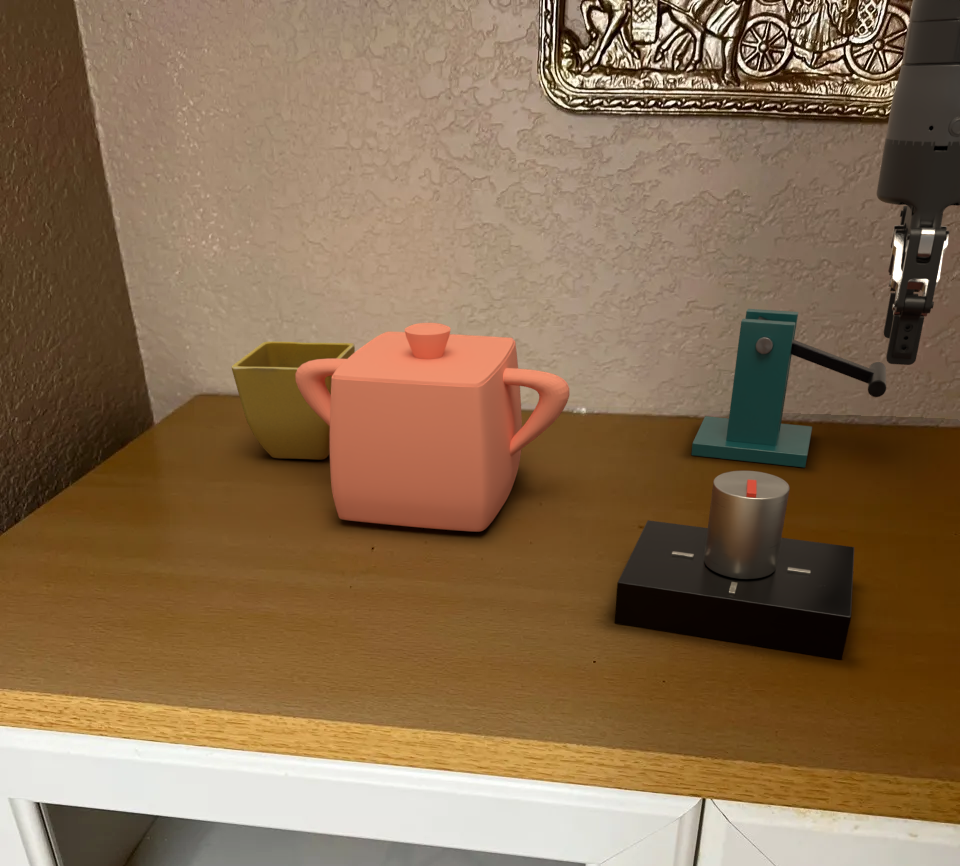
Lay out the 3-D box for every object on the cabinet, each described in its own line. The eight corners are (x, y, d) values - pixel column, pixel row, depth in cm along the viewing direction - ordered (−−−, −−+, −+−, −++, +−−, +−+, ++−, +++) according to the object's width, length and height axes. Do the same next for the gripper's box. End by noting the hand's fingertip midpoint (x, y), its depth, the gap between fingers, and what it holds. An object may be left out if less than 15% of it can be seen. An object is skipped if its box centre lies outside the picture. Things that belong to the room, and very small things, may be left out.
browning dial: (705, 544, 66) (715, 463, 63) (775, 551, 65) (789, 469, 62) (702, 575, 62) (712, 490, 59) (776, 583, 61) (791, 496, 58)
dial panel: (846, 586, 67) (854, 544, 66) (841, 659, 59) (851, 614, 58) (644, 557, 71) (647, 517, 70) (614, 623, 63) (617, 579, 62)
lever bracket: (810, 438, 93) (832, 310, 87) (805, 468, 86) (828, 331, 80) (703, 427, 95) (717, 302, 89) (691, 455, 89) (705, 322, 83)
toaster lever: (878, 385, 87) (891, 360, 86) (878, 405, 83) (892, 378, 81) (750, 336, 89) (761, 311, 88) (742, 353, 84) (754, 326, 83)
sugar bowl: (549, 548, 73) (556, 360, 66) (273, 522, 77) (250, 343, 70) (584, 455, 89) (593, 297, 82) (355, 438, 94) (344, 286, 86)
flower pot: (242, 466, 88) (228, 365, 83) (275, 433, 95) (264, 339, 90) (337, 471, 86) (328, 369, 82) (363, 437, 94) (356, 342, 89)
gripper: (883, 127, 81) (850, 328, 89) (889, 140, 69) (850, 370, 77) (983, 127, 79) (940, 332, 87) (1005, 139, 67) (953, 375, 75)
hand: (897, 350), depth 82 cm, fingers open, 8 cm apart
